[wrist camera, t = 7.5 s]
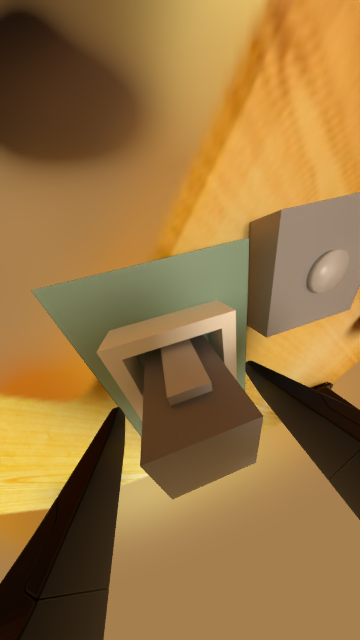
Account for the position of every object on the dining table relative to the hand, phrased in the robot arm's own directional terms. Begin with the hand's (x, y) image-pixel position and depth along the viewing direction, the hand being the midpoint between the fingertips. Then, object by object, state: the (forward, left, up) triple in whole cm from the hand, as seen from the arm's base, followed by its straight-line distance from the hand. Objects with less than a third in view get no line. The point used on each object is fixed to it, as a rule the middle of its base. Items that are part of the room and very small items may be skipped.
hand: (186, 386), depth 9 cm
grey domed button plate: (+4, -12, -4) cm, 14 cm away
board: (-2, 0, -4) cm, 5 cm away
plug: (0, 0, -3) cm, 3 cm away
